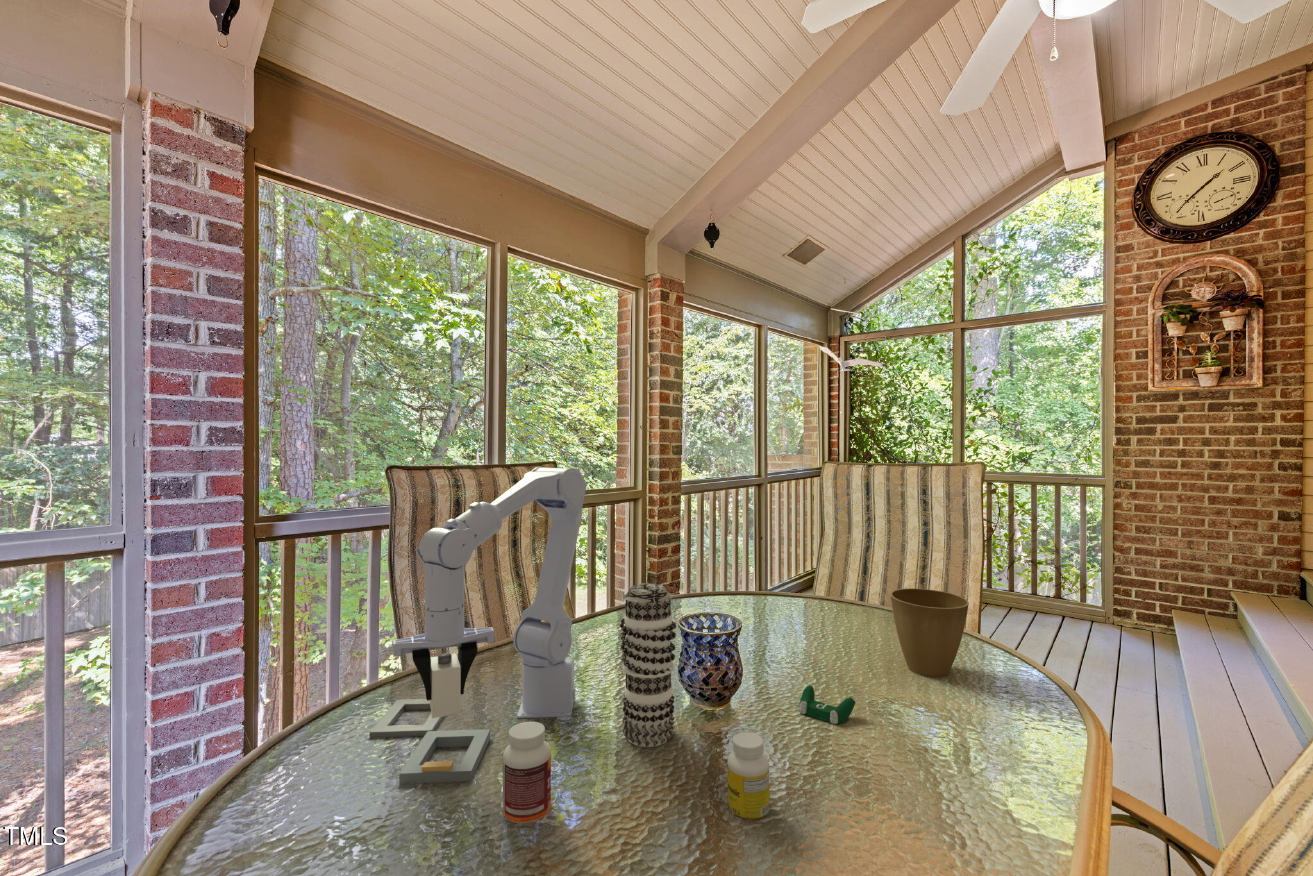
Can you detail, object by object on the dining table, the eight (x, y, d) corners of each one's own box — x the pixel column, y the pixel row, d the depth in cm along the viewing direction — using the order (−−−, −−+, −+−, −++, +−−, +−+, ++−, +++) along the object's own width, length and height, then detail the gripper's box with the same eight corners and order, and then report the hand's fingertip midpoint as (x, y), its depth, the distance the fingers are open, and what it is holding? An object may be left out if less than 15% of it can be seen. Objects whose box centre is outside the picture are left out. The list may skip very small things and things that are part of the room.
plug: (456, 697, 93) (456, 647, 93) (460, 713, 87) (460, 659, 87) (429, 702, 91) (429, 651, 91) (432, 718, 86) (432, 664, 86)
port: (490, 741, 94) (490, 725, 94) (471, 785, 82) (471, 766, 82) (427, 743, 94) (427, 727, 94) (399, 787, 82) (399, 769, 82)
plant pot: (891, 681, 118) (890, 602, 118) (891, 656, 131) (890, 585, 132) (974, 693, 112) (973, 610, 112) (964, 665, 126) (964, 591, 126)
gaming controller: (808, 703, 108) (792, 715, 103) (807, 683, 108) (792, 694, 103) (856, 718, 102) (843, 732, 97) (856, 697, 102) (842, 709, 97)
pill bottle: (558, 818, 75) (558, 733, 75) (512, 836, 72) (512, 747, 72) (540, 794, 80) (540, 714, 80) (496, 809, 77) (496, 726, 77)
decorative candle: (657, 760, 89) (657, 597, 89) (609, 744, 94) (608, 589, 94) (686, 734, 96) (686, 584, 97) (640, 720, 101) (640, 577, 102)
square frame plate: (452, 704, 108) (452, 698, 108) (431, 737, 96) (431, 730, 96) (397, 706, 107) (397, 699, 107) (369, 739, 95) (369, 732, 95)
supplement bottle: (724, 802, 78) (723, 730, 78) (763, 800, 79) (763, 728, 79) (732, 829, 73) (732, 751, 73) (774, 826, 73) (774, 749, 73)
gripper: (489, 594, 96) (489, 677, 96) (393, 605, 90) (392, 693, 90) (496, 605, 90) (496, 693, 89) (393, 618, 83) (393, 712, 83)
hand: (444, 694), depth 89 cm, fingers closed on plug, 4 cm apart
